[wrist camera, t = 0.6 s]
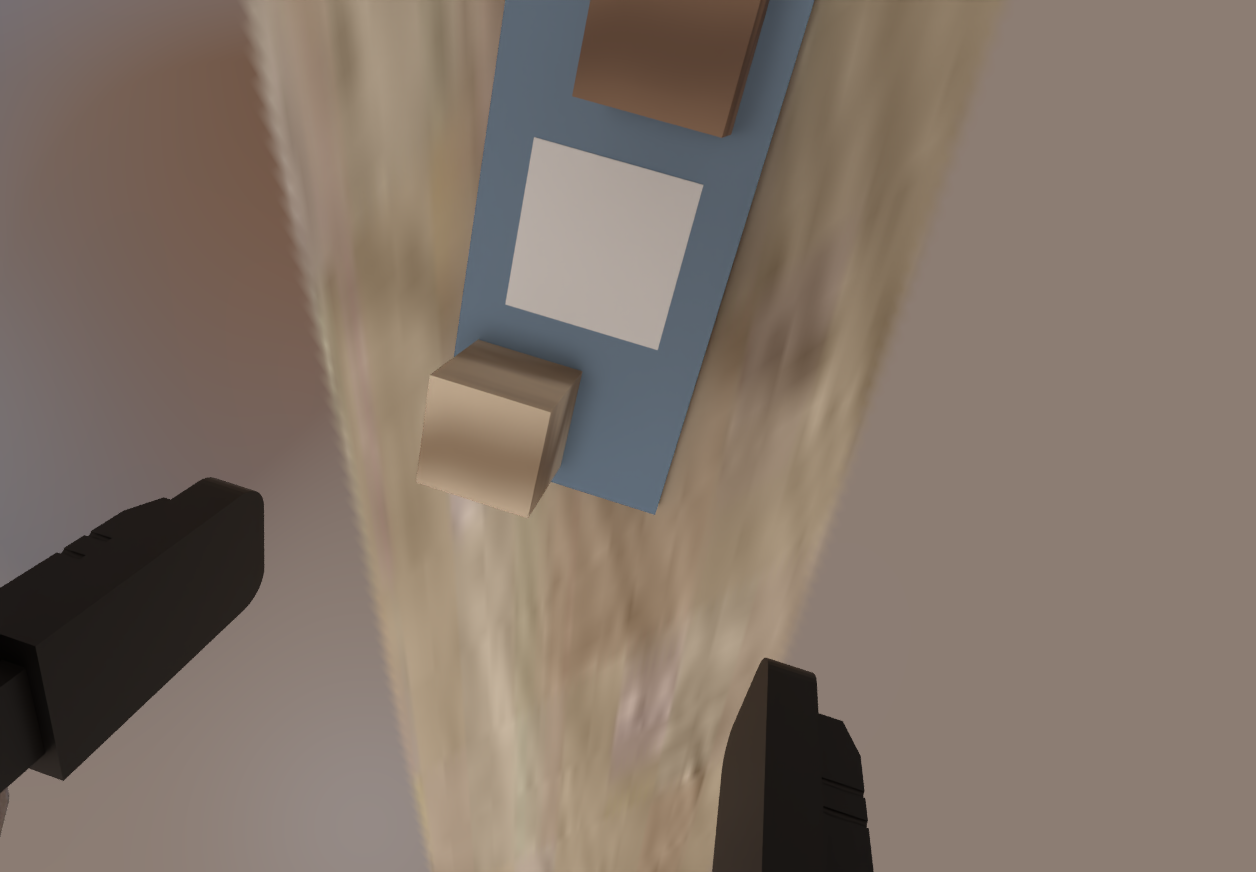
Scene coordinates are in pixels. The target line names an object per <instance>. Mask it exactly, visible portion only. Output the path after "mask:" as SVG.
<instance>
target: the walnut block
mask: <svg viewBox="0 0 1256 872" xmlns="http://www.w3.org/2000/svg"><path fill="white" fill-rule="evenodd" d="M769 1H770V0H590V4H589V9H588V15H587V20H586V25H585V31H584V36H583V41H582V46H581V52H580V57H579V62H578V67H577V73H576V78H575V83H574V89H573V94H572V96H573V97H576V98H580V99H584V100H587V101H591V102H594V103H598V104H602V105H605V106H609V107H612V108H616V109H620V110H623V111H627V112H630V113H634V114H638V115H641V116H645V117H648V118H652V119H656V120H659V121H663V122H666V123H670V124H674V125H677V126H681V127H684V128H688V129H692V130H695V131H699V132H702V133H706V134H710V135H713V136H717V137H720V138H723V137H726V136H729V135H731V134H732V130H733V127H734V123H735V120H736V116H737V113H738V109H739V106H740V102H741V99H742V95H743V92H744V88H745V85H746V81H747V78H748V74H749V71H750V67H751V64H752V60H753V57H754V53H755V50H756V46H757V43H758V39H759V36H760V32H761V29H762V25H763V22H764V18H765V15H766V11H767V8H768V4H769Z"/></svg>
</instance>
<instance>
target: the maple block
mask: <svg viewBox="0 0 1256 872" xmlns="http://www.w3.org/2000/svg"><path fill="white" fill-rule="evenodd" d="M582 372H583V371H580V370H576V369H573V368H570V367H567V366H563V365H560V364H557V363H554V362H550V361H547V360H544V359H540V358H537V357H534V356H531V355H527V354H524V353H521V352H517V351H514V350H511V349H508V348H504V347H501V346H498V345H495V344H491V343H488V342H485V341H481V340H477V341H475V342H474V343H473V344H471V345H470V346H469V347H467V348H466V349H464V350H463V351H462V352H460V353H459V354H458V355H456V356H455V357H454V358H452V359H451V360H450V361H448V362H447V363H445V364H444V365H443V366H441V367H440V368H439V369H437V370H436V371H435V372H433V373H432V374H431V375H430V378H429V386H428V394H427V401H426V409H425V417H424V425H423V432H422V440H421V448H420V455H419V463H418V471H417V478H416V483H420V484H423V485H426V486H429V487H432V488H435V489H438V490H441V491H444V492H448V493H451V494H454V495H457V496H460V497H463V498H466V499H469V500H472V501H476V502H479V503H482V504H485V505H488V506H491V507H494V508H497V509H500V510H503V511H507V512H510V513H513V514H516V515H519V516H522V517H525V518H528V517H529V516H530V514H531V513H532V511H533V509H534V508H535V506H536V505H537V503H538V501H539V500H540V498H541V497H542V495H543V493H544V492H545V490H546V489H547V487H548V485H549V484H550V482H551V481H552V479H553V477H554V476H555V474H556V473H557V471H558V469H559V468H560V466H561V462H562V458H563V454H564V449H565V445H566V441H567V436H568V432H569V428H570V423H571V419H572V415H573V410H574V406H575V402H576V398H577V393H578V389H579V385H580V380H581V376H582Z"/></svg>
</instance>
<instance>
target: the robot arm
mask: <svg viewBox="0 0 1256 872" xmlns="http://www.w3.org/2000/svg"><path fill="white" fill-rule="evenodd" d="M263 574H264V502H263V498H262V496H261V495H260V494H259V493H258V492H256V491H253V490H250V489H247V488H244V487H241V486H238V485H235V484H232V483H229V482H226V481H222V480H219V479H216V478H211V477H210V478H205V479H202V480H200V481H199V482H197V483H195V484H194V485H192V486H191V487H189V488H188V489H187V490H185V491H183V492H182V493H180V494H179V495H177V496H176V497H174V498H173V499H171V500H170V499H167V498H161V499H158V500H155V501H152V502H149V503H145V504H143V505H139V506H137V507H133V508H130V509H127V510H124V511H123V512H121V513H119V514H118V515H116V516H114V517H113V518H111V519H110V520H108V521H106V522H105V523H104V524H102V525H100V526H98V527H97V528H95V529H94V530H92V531H91V534H90V535H89V536H85V535H84V536H83V537H81V538H79V539H78V540H76V541H74V542H73V543H71V544H70V545H68V546H66V547H65V548H64V550H63V552H62V553H61V554H60V553H55V554H54V555H52V556H50V557H49V558H47V559H46V560H44V561H42V562H41V563H39V564H38V565H36V566H34V567H33V568H31V569H30V570H28V571H26V572H25V573H23V574H22V575H20V576H18V577H17V578H15V579H14V580H13V581H10V582H9V583H7V584H6V585H4V586H3V587H1V588H0V835H1V831H2V827H3V823H4V819H5V815H6V811H7V807H8V803H9V790H8V786H9V785H10V784H11V783H12V782H14V781H15V780H16V779H17V778H18V777H19V776H20V775H21V774H23V773H24V772H25V771H26V770H27V769H28V768H30V769H33V770H35V771H38V772H41V773H43V774H46V775H49V776H52V777H55V778H57V779H60V780H63V781H64V780H65V779H66V778H67V777H68V776H69V775H70V774H71V773H72V772H73V771H74V770H75V769H76V768H77V767H78V766H80V765H81V764H82V763H83V762H84V761H85V760H86V759H87V758H88V757H89V756H90V755H91V754H92V753H93V752H94V751H95V750H96V749H98V747H100V746H101V745H102V744H103V743H104V742H105V741H106V740H107V739H108V738H109V737H110V736H111V735H112V734H113V733H114V732H115V731H117V730H118V729H119V728H120V727H121V726H122V725H123V724H124V723H125V722H126V721H127V720H128V719H129V718H130V717H131V716H132V715H133V714H134V713H135V712H137V710H139V709H140V708H141V707H142V706H143V705H144V704H145V703H146V702H147V701H148V700H149V699H150V698H151V697H152V696H153V695H155V694H156V693H157V691H159V690H160V689H161V688H162V687H163V686H164V685H165V684H166V683H167V682H168V681H169V680H170V679H171V678H172V677H173V676H175V675H176V674H177V673H178V672H179V671H180V670H181V669H182V668H183V667H184V666H185V665H186V664H187V663H188V662H189V661H190V660H192V658H194V657H195V656H196V655H197V654H198V653H199V652H200V651H201V650H202V649H203V648H204V647H205V646H206V645H207V644H208V643H209V642H211V641H212V639H214V638H215V637H216V636H217V635H218V634H219V633H220V632H221V631H222V630H223V629H224V628H225V627H226V626H227V625H228V624H230V623H231V622H232V621H233V620H234V619H235V618H236V617H237V616H238V615H239V614H240V613H241V612H242V611H243V610H244V609H245V608H246V607H247V606H248V605H249V604H250V602H251V601H252V600H253V598H254V597H255V595H256V593H257V591H258V589H259V587H260V584H261V582H262V578H263ZM863 794H864V783H863V774H862V765H861V756H860V754H859V752H858V750H857V748H856V747H855V745H854V742H853V741H852V738H851V737H850V735H849V733H848V731H847V729H846V727H845V725H844V723H843V721H840V720H837V719H834V718H831V717H828V716H825V715H822V714H819V713H818V697H817V681H816V676H815V674H814V673H811V672H809V671H806V670H803V669H800V668H796V667H793V666H790V665H787V664H784V663H781V662H778V661H775V660H772V659H769V658H764V659H763V660H762V661H761V663H760V665H759V667H758V669H757V671H756V674H755V676H754V678H753V681H752V683H751V685H750V688H749V690H748V692H747V694H746V697H745V699H744V701H743V704H742V706H741V708H740V711H739V713H738V715H737V717H736V720H735V722H734V724H733V727H732V730H731V732H730V736H729V739H728V742H727V746H726V750H725V755H724V760H723V766H722V775H721V785H720V796H719V806H718V817H717V827H716V838H715V848H714V859H713V869H712V872H873V863H872V854H871V845H870V836H869V829H868V828H867V821H868V818H867V810H866V801H865V798H863Z"/></svg>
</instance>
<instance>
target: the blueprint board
mask: <svg viewBox="0 0 1256 872" xmlns="http://www.w3.org/2000/svg"><path fill="white" fill-rule="evenodd" d="M813 3H814V0H770V1H769V4H768V8H767V11H766V15H765V18H764V22H763V25H762V29H761V32H760V36H759V39H758V43H757V46H756V50H755V53H754V57H753V60H752V64H751V67H750V71H749V74H748V78H747V81H746V85H745V88H744V92H743V95H742V99H741V102H740V106H739V109H738V113H737V116H736V120H735V123H734V127H733V130H732V134H731V135H729V136H726V137H723V138H720V137H717V136H713V135H710V134H706V133H702V132H699V131H695V130H692V129H688V128H684V127H681V126H677V125H674V124H670V123H666V122H663V121H659V120H656V119H652V118H648V117H645V116H641V115H638V114H634V113H630V112H627V111H623V110H620V109H616V108H612V107H609V106H605V105H602V104H598V103H594V102H591V101H587V100H584V99H580V98H576V97H573V96H572V94H573V89H574V83H575V78H576V73H577V67H578V62H579V57H580V52H581V46H582V41H583V36H584V31H585V25H586V20H587V15H588V9H589V4H590V0H505V7H504V13H503V20H502V27H501V34H500V41H499V48H498V55H497V62H496V69H495V76H494V83H493V90H492V97H491V104H490V111H489V118H488V124H487V131H486V138H485V145H484V152H483V159H482V166H481V173H480V180H479V187H478V194H477V201H476V208H475V215H474V222H473V228H472V235H471V242H470V249H469V256H468V263H467V270H466V277H465V284H464V291H463V298H462V305H461V312H460V319H459V326H458V333H457V339H456V346H455V353H454V357H455V356H456V355H458V354H459V353H460V352H462V351H463V350H464V349H466V348H467V347H469V346H470V345H471V344H473V343H474V342H475V341H477V340H481V341H485V342H488V343H491V344H495V345H498V346H501V347H504V348H508V349H511V350H514V351H517V352H521V353H524V354H527V355H531V356H534V357H537V358H540V359H544V360H547V361H550V362H554V363H557V364H560V365H563V366H567V367H570V368H573V369H576V370H580V371H583V372H582V376H581V380H580V385H579V389H578V393H577V398H576V402H575V406H574V410H573V415H572V419H571V423H570V428H569V432H568V436H567V441H566V445H565V449H564V454H563V458H562V462H561V466H560V468H559V469H558V471H557V473H556V474H555V476H554V477H553V479H552V481H551V482H553V483H557V484H560V485H563V486H566V487H569V488H572V489H575V490H579V491H582V492H585V493H588V494H591V495H594V496H597V497H601V498H604V499H607V500H610V501H613V502H616V503H620V504H623V505H626V506H629V507H632V508H635V509H638V510H642V511H645V512H648V513H651V514H654V515H655V513H656V510H657V507H658V503H659V500H660V497H661V494H662V491H663V487H664V484H665V481H666V478H667V474H668V471H669V468H670V465H671V462H672V458H673V455H674V452H675V449H676V445H677V442H678V439H679V436H680V432H681V429H682V426H683V423H684V420H685V416H686V413H687V410H688V407H689V403H690V400H691V397H692V394H693V391H694V387H695V384H696V381H697V378H698V374H699V371H700V368H701V365H702V362H703V358H704V355H705V352H706V349H707V345H708V342H709V339H710V336H711V332H712V329H713V326H714V323H715V320H716V316H717V313H718V310H719V307H720V303H721V300H722V297H723V294H724V291H725V287H726V284H727V281H728V278H729V274H730V271H731V268H732V265H733V261H734V258H735V255H736V252H737V249H738V245H739V242H740V239H741V236H742V232H743V229H744V226H745V223H746V220H747V216H748V213H749V210H750V207H751V203H752V200H753V197H754V194H755V191H756V187H757V184H758V181H759V178H760V174H761V171H762V168H763V165H764V161H765V158H766V155H767V152H768V149H769V145H770V142H771V139H772V136H773V132H774V129H775V126H776V123H777V120H778V116H779V113H780V110H781V107H782V103H783V100H784V97H785V94H786V90H787V87H788V84H789V81H790V78H791V74H792V71H793V68H794V65H795V61H796V58H797V55H798V52H799V49H800V45H801V42H802V39H803V36H804V32H805V29H806V26H807V23H808V19H809V16H810V13H811V10H812V7H813Z"/></svg>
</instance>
